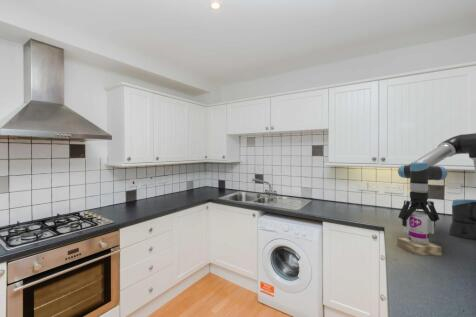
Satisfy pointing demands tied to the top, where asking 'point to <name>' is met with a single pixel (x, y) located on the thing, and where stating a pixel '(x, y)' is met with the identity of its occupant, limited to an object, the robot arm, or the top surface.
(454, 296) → the top surface
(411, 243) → the oak base
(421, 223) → the supplement can
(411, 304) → the top surface
